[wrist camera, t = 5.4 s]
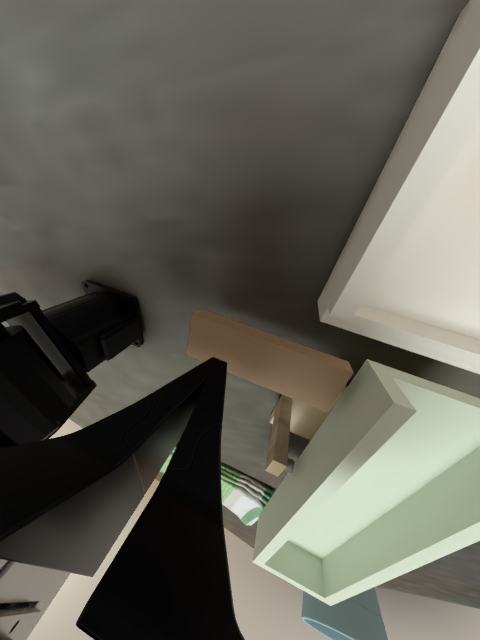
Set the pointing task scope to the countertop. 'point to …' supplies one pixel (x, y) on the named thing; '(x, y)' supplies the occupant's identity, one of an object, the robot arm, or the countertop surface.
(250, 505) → the dish towel
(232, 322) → the lever
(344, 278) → the bin
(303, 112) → the countertop surface
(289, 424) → the lever stand
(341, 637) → the cup
